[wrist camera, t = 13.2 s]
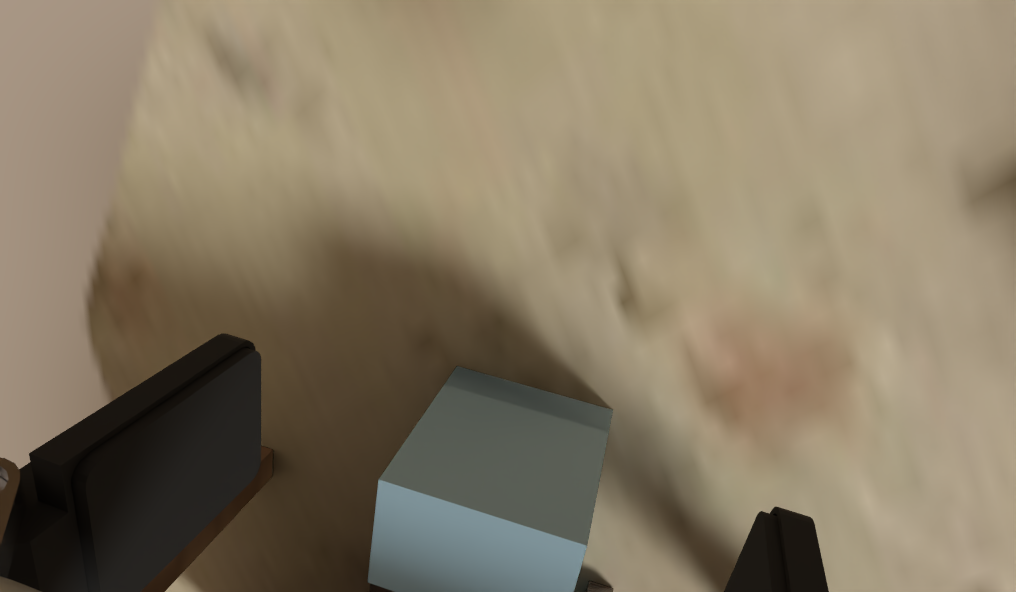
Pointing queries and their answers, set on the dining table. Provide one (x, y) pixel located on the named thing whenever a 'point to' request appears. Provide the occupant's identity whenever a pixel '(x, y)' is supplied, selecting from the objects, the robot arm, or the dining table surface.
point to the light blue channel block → (490, 491)
